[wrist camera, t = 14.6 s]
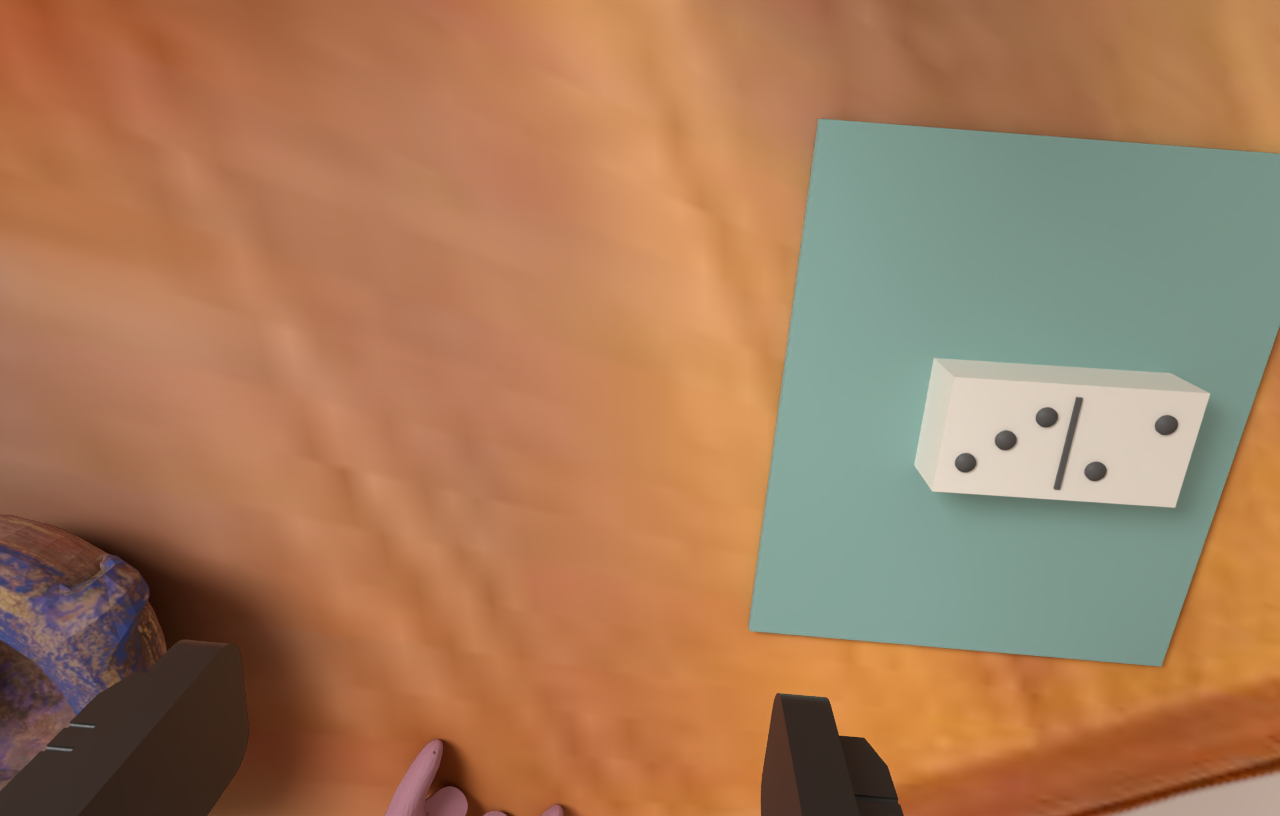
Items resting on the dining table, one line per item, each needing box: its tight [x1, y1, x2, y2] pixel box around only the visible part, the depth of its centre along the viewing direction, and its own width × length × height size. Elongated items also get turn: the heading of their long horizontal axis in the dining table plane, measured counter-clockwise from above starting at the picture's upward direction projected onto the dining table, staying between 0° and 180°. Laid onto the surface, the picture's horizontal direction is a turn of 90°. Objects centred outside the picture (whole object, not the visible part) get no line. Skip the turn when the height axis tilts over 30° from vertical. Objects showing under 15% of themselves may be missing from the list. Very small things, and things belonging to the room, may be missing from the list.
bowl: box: [0, 514, 167, 791], centre depth 41 cm, size 18×18×10 cm
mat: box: [749, 119, 1280, 666], centre depth 39 cm, size 26×22×1 cm
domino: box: [914, 358, 1210, 508], centre depth 37 cm, size 6×3×11 cm
